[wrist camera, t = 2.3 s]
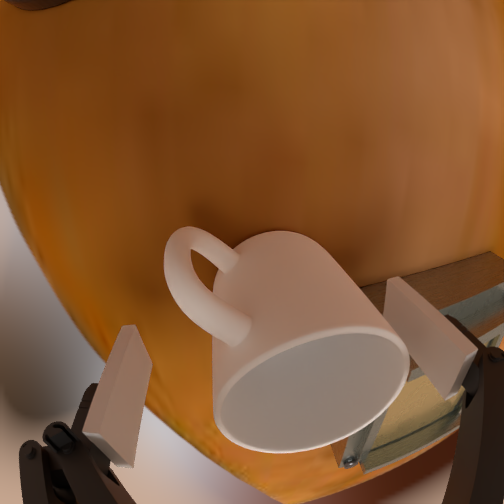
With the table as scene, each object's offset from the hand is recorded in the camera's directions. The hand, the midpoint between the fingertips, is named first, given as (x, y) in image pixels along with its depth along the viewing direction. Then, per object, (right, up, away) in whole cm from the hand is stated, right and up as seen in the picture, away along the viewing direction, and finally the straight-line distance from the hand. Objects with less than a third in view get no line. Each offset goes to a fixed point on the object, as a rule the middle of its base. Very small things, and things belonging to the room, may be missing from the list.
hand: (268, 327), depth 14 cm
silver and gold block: (+16, -8, +11) cm, 21 cm away
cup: (-1, +3, +5) cm, 6 cm away
